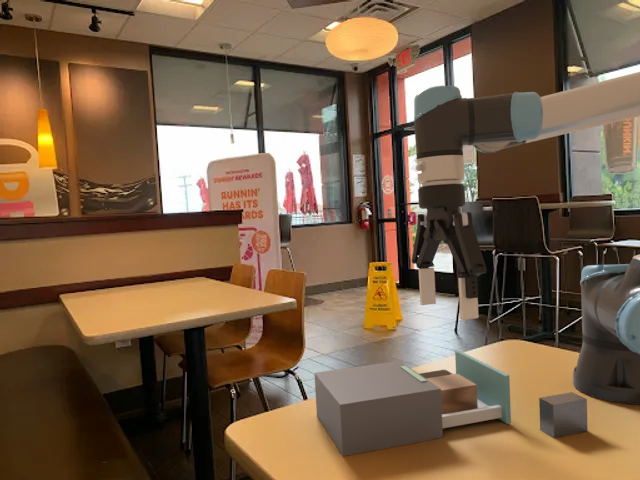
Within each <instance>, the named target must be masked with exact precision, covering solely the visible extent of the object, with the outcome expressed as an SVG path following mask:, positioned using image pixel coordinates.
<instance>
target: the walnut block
mask: <svg viewBox="0 0 640 480" xmlns="http://www.w3.org/2000/svg"><path fill="white" fill-rule="evenodd" d="M426 379H427V380H429V381H430V382H432V383H433V384H435V385H436V386H438V387H439V388H441V405H442V415H443V414H448V413H454V412H460V411H466V410H472V409H477V408H478V404H477V385H476V384H475V383H473V382H471V381H469V380H468V379H466V378H464V377H463V376H461V375H459V374H456V373H452V375H446V376H439V377H433V378H426Z"/></svg>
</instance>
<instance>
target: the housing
mask: <svg viewBox="0 0 640 480" xmlns="http://www.w3.org/2000/svg"><path fill="white" fill-rule="evenodd" d="M314 385H315V386H314V387H315V388H314V389H315V390H314V391H315V404H316V408H315V409H316V417H317V419H318V420H319V421H320V423H321V425H322V427H324V429H325V431H326V433H327V434H328V436H329V437H330V439H331V440H332V442H333V444H334V445H335V446H336V448H337V449H338V451H339V452H340V455H341V456H342V457H346V456H352V455H356V454H361V453H366V452H367V453H368V452H372V451H378V450H384V449H389V448H394V447H400V446H405V445H409V444H414V443H420V442H425V441H432V440H437V439H441V438H442V439H443V436H444V434H443V430H444V429H443V428H442V405H441V388H439V387H438V386H436V385H435V384H433V383H432V382H430V381H429V380H427V379H426V378H424V377H423V376H421V375H420V373H419V372H417V371H415V370H414V369H413V368H411V367H410V366H408V365H407V364H405V363H404V362H403V361H401V360H397V361H390V362H382V363H375V364H369V365H361V366H354V367H347V368H339V369H338V368H337V369H333V370H326V371H325V370H324V371H317V372H314Z"/></svg>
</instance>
